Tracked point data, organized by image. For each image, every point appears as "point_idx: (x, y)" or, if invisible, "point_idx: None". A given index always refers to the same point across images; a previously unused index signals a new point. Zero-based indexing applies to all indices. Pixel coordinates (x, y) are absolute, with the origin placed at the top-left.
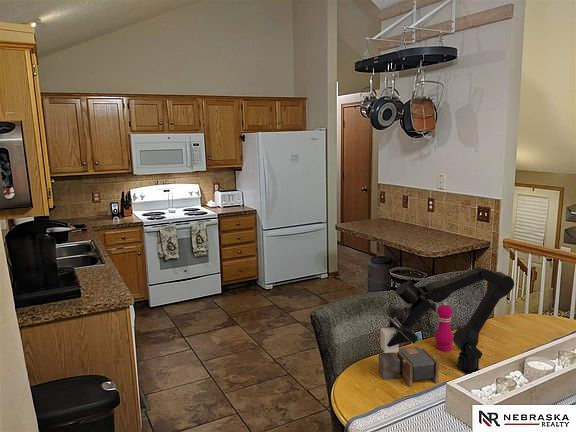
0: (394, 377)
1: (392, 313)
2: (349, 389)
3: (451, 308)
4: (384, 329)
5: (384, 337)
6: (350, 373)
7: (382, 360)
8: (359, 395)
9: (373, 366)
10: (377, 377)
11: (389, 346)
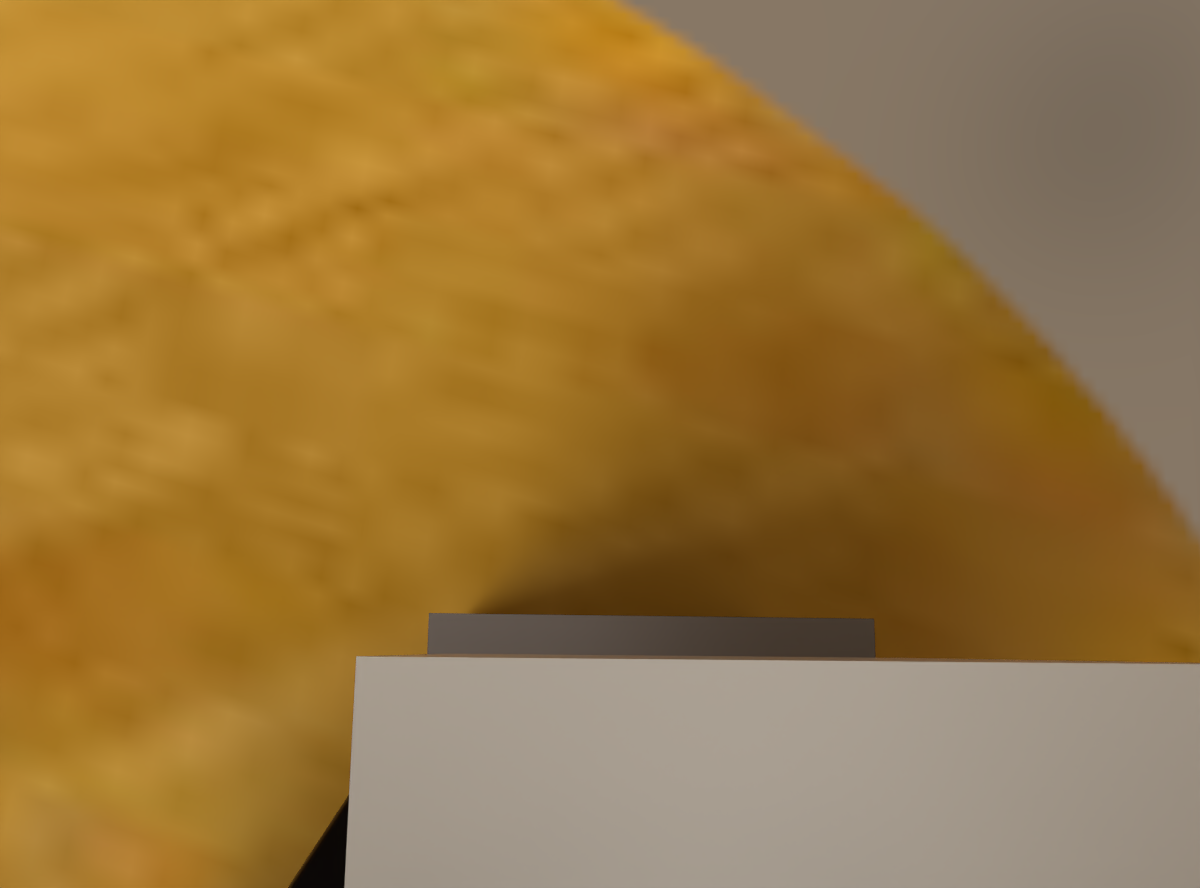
0: None
1: None
2: (262, 23)
3: None
4: (1149, 874)
5: (453, 656)
6: (730, 149)
7: (534, 616)
8: (66, 120)
9: (923, 578)
10: (547, 541)
11: None
